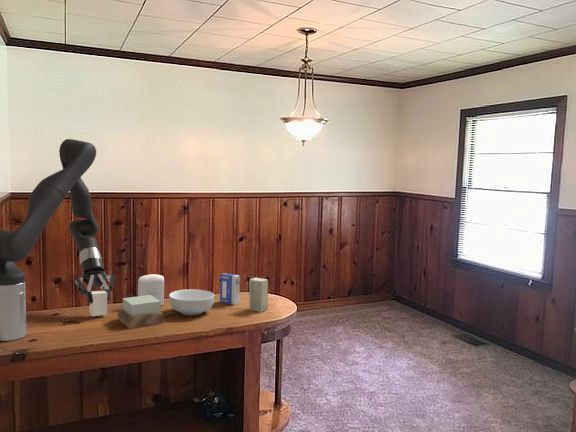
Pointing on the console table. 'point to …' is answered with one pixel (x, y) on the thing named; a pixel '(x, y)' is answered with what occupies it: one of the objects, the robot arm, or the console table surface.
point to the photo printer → (152, 286)
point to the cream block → (99, 303)
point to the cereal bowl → (191, 301)
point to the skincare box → (258, 294)
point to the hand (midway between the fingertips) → (99, 301)
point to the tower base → (139, 319)
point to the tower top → (141, 305)
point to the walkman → (229, 288)
